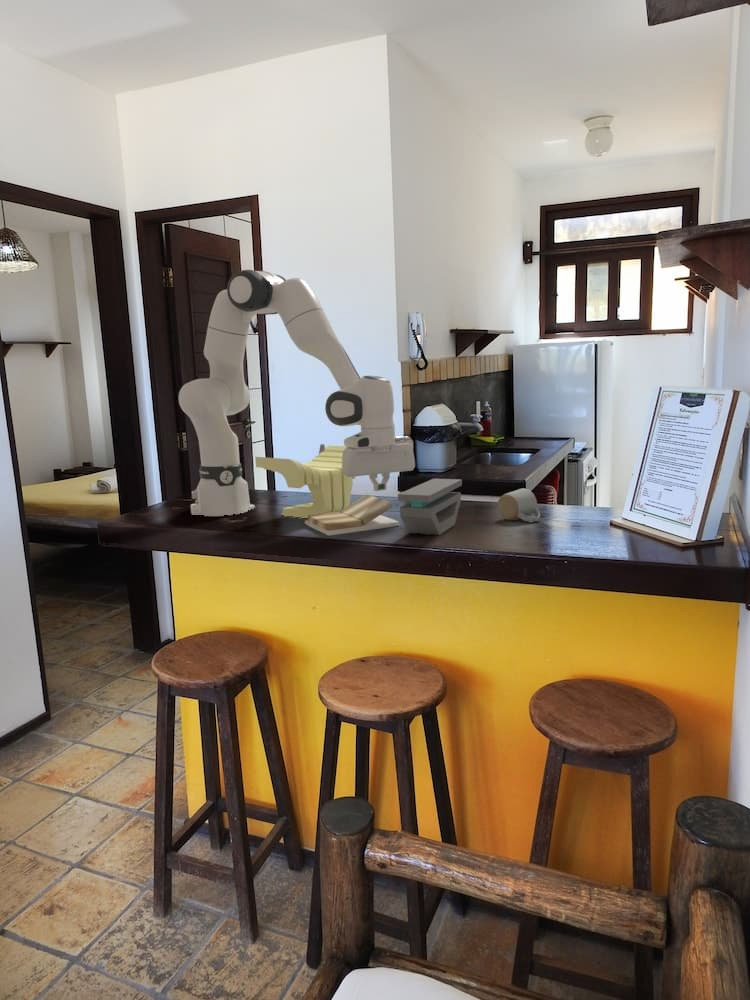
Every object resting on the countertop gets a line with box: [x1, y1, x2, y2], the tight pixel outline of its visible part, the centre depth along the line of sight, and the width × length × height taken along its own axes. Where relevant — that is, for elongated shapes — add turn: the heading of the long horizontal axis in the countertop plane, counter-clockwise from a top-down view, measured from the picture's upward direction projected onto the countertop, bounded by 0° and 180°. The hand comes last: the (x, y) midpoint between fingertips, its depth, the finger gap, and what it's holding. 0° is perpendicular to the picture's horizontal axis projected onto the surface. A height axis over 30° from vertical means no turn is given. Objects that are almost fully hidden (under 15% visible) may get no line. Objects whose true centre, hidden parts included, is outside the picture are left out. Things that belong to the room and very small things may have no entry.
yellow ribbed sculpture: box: [254, 445, 357, 519], centre depth 200 cm, size 30×16×18 cm, turn 143°
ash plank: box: [340, 493, 393, 525], centre depth 187 cm, size 14×9×2 cm, turn 27°
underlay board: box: [304, 514, 401, 536], centre depth 186 cm, size 16×20×1 cm
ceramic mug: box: [497, 487, 541, 522], centre depth 186 cm, size 11×8×8 cm
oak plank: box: [307, 512, 361, 531], centre depth 184 cm, size 14×9×2 cm, turn 27°
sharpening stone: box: [397, 478, 463, 536], centre depth 178 cm, size 25×8×11 cm, turn 156°
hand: (380, 490), depth 188 cm, fingers closed
